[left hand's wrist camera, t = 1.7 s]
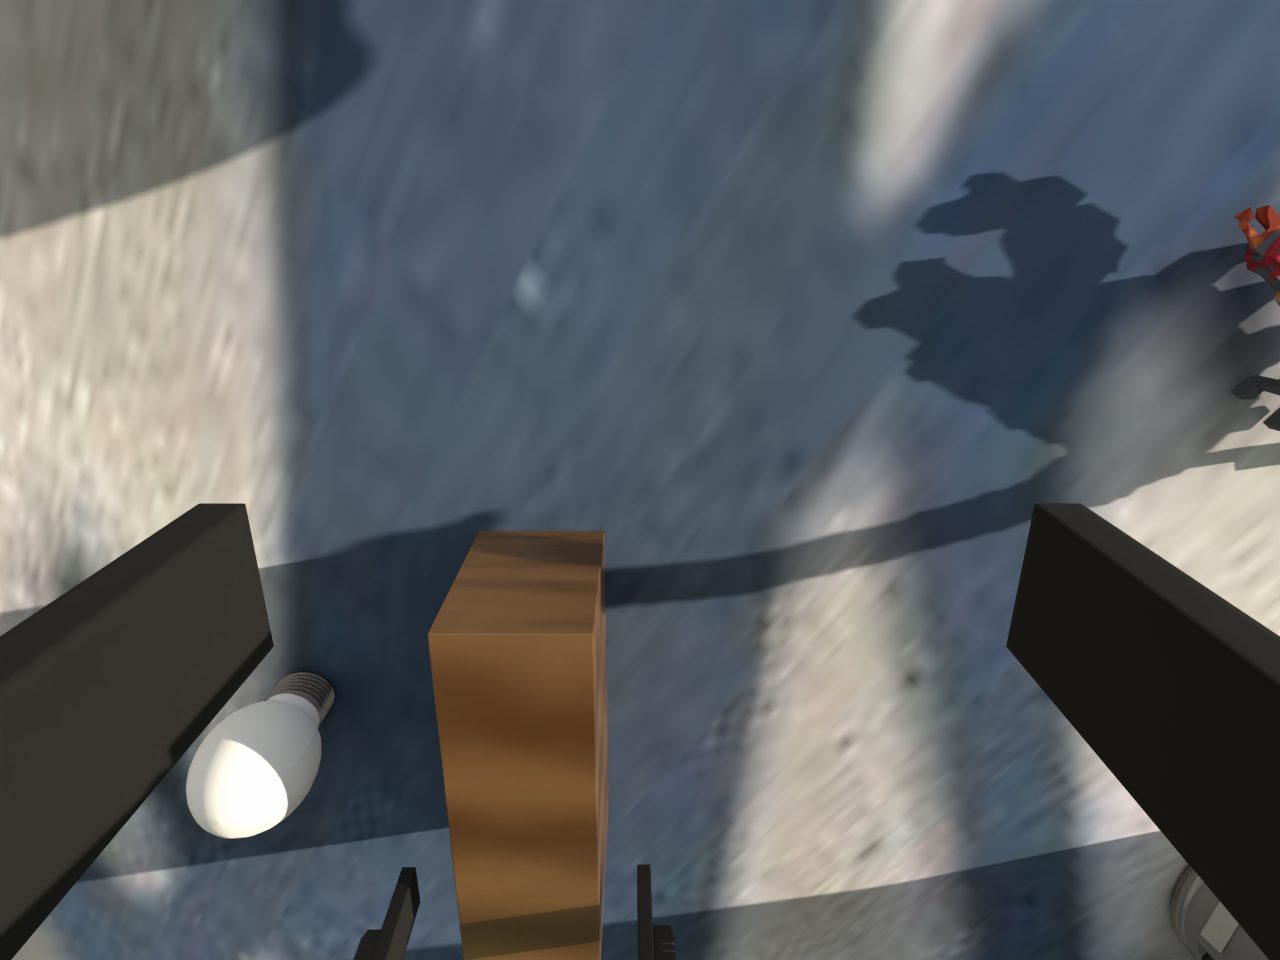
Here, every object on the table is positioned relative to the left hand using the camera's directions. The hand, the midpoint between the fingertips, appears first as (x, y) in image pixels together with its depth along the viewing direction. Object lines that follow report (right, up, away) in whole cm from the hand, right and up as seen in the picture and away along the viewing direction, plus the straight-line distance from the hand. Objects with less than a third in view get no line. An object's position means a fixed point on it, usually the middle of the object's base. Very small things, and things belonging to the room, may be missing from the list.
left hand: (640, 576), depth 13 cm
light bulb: (-23, -13, +38) cm, 46 cm away
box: (-6, -12, +37) cm, 40 cm away
